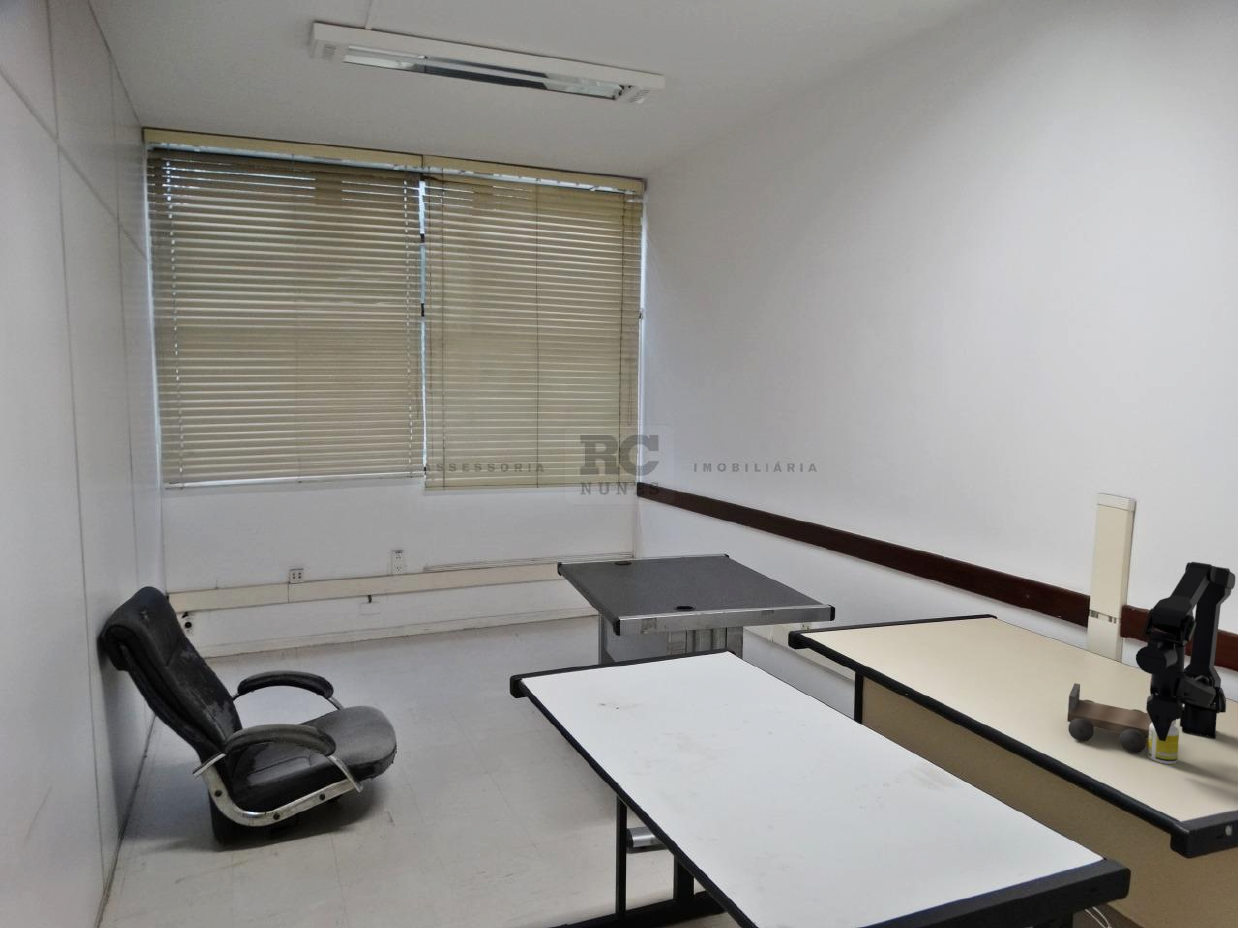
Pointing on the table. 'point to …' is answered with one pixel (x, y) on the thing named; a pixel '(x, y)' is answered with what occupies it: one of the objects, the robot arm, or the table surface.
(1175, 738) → the supplement bottle
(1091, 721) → the trolley
